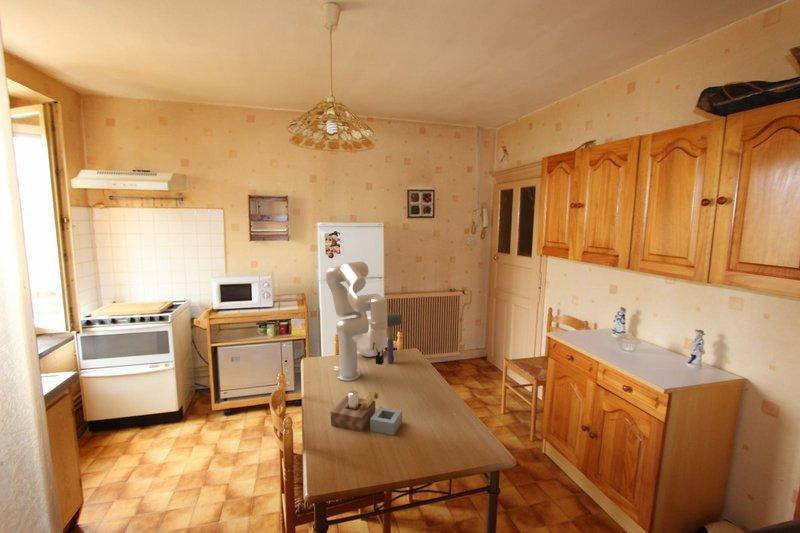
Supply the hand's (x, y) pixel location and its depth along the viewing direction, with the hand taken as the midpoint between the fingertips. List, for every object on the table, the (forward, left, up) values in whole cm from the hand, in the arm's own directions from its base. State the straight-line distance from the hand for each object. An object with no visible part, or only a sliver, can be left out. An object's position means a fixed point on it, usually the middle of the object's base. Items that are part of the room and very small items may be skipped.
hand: (379, 363), depth 166 cm
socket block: (-5, -16, -19) cm, 26 cm away
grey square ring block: (+10, -16, -19) cm, 27 cm away
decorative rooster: (-32, +51, -19) cm, 63 cm away
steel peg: (-5, -16, -19) cm, 26 cm away
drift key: (0, -12, -13) cm, 17 cm away
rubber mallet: (-12, +45, -19) cm, 50 cm away
